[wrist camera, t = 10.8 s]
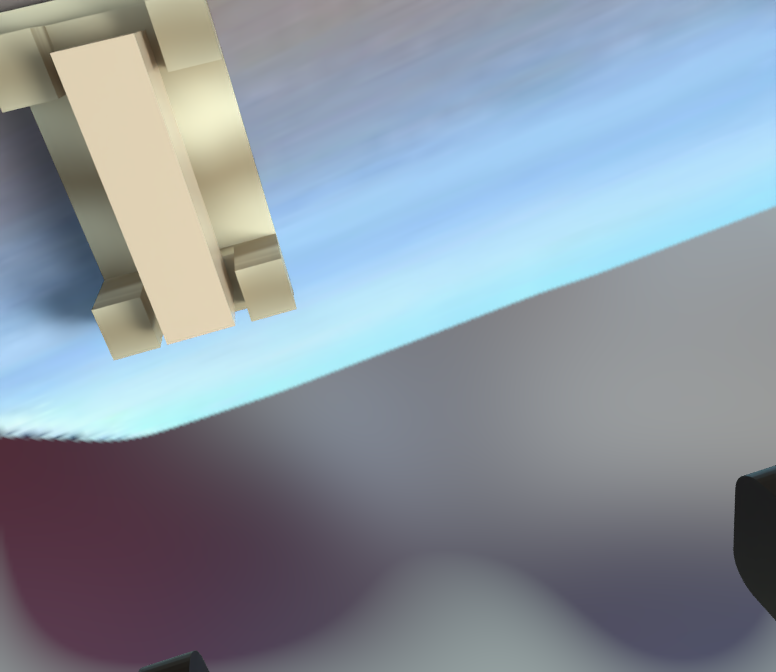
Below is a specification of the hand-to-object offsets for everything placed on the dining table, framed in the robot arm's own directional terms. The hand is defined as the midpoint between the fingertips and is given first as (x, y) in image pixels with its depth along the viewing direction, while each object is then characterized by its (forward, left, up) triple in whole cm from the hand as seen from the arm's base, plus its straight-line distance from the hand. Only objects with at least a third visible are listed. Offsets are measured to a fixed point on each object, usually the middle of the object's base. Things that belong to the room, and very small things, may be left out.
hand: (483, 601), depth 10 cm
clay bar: (-1, -7, -32) cm, 32 cm away
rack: (-1, -7, -34) cm, 35 cm away
